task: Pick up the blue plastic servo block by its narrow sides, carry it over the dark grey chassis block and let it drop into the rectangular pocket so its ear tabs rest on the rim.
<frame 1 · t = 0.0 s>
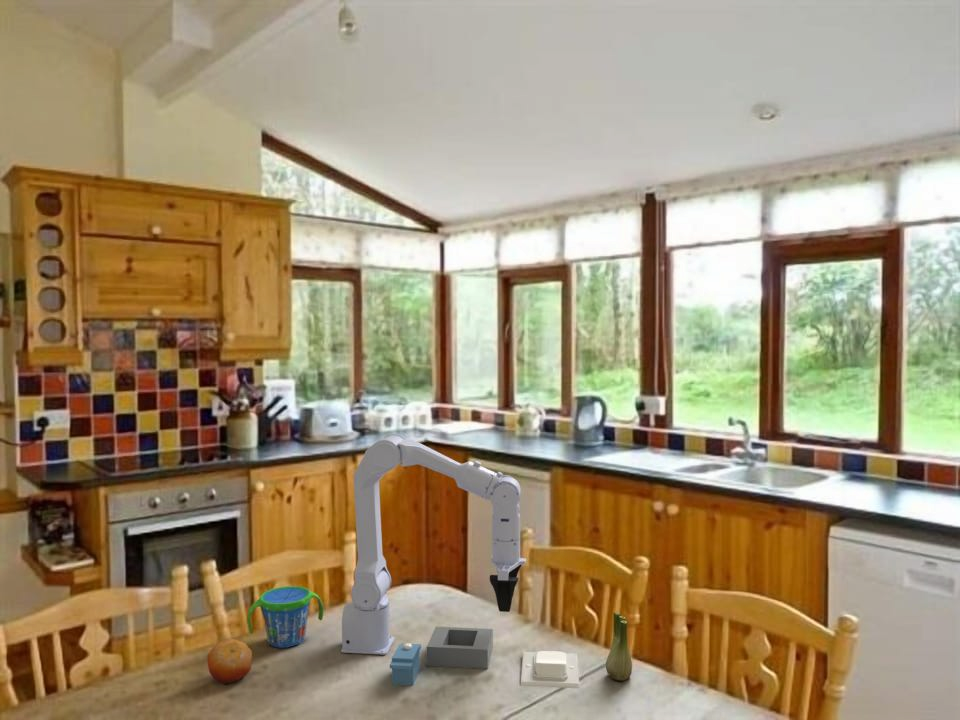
hand: (506, 604, 150), 10 cm above the table, tool pointing down, fingers open, 7 cm apart
light switch: (549, 675, 142), on the table
fruit: (229, 680, 140), on the table
chassis: (460, 656, 149), on the table
fennel bulb: (618, 678, 140), on the table
snack cup: (286, 642, 156), on the table
servo: (406, 677, 140), on the table
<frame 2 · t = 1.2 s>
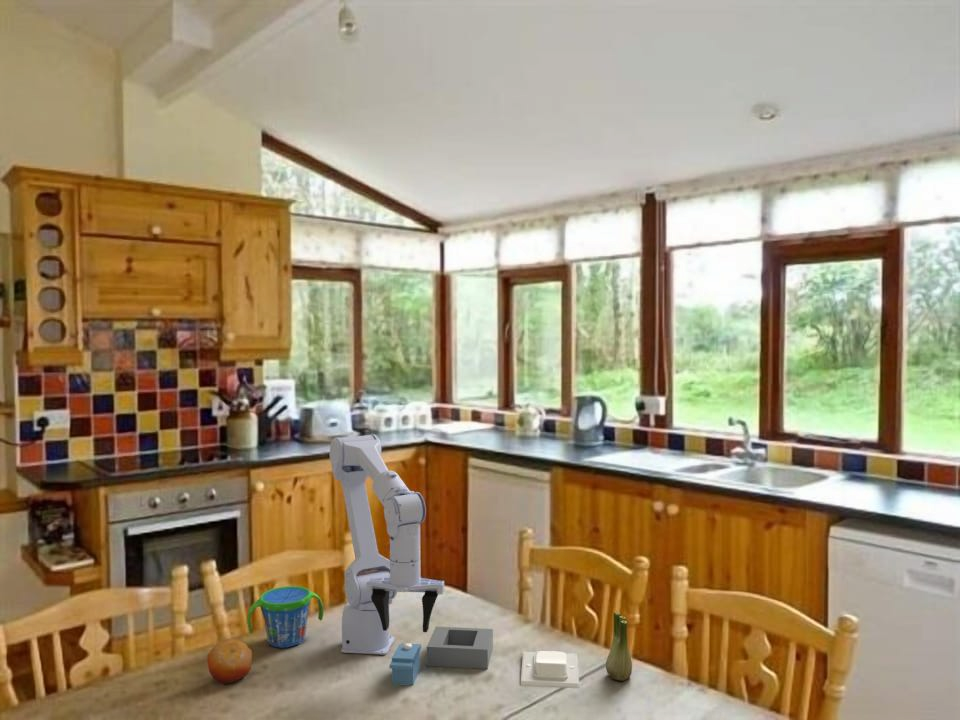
hand: (405, 629, 140), 9 cm above the table, tool pointing down, fingers open, 7 cm apart
nothing on the table moved.
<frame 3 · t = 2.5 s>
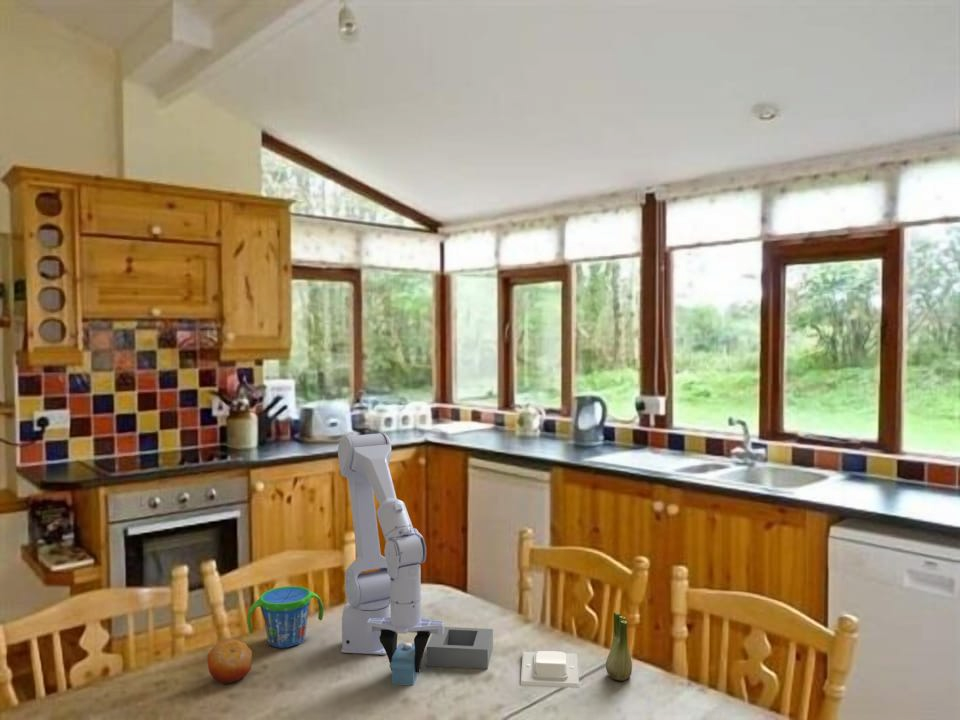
hand: (406, 669, 140), 1 cm above the table, tool pointing down, fingers closed on servo, 4 cm apart
servo: (406, 677, 140), on the table, touching gripper
everything else where it was.
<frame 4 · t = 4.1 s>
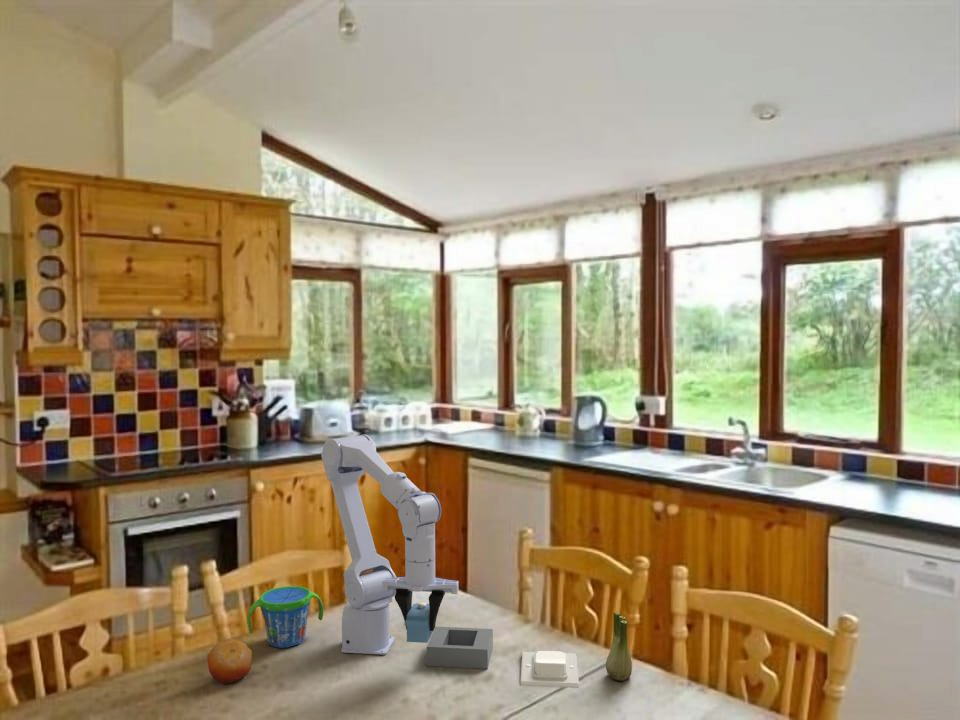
hand: (420, 628, 142), 8 cm above the table, tool pointing down, fingers closed on servo, 4 cm apart
servo: (420, 635, 142), point 7 cm above the table, touching gripper
everything else where it was.
when the fingers open (4 cm above the table, at t = 5.8 s): servo drops 3 cm, resting on chassis.
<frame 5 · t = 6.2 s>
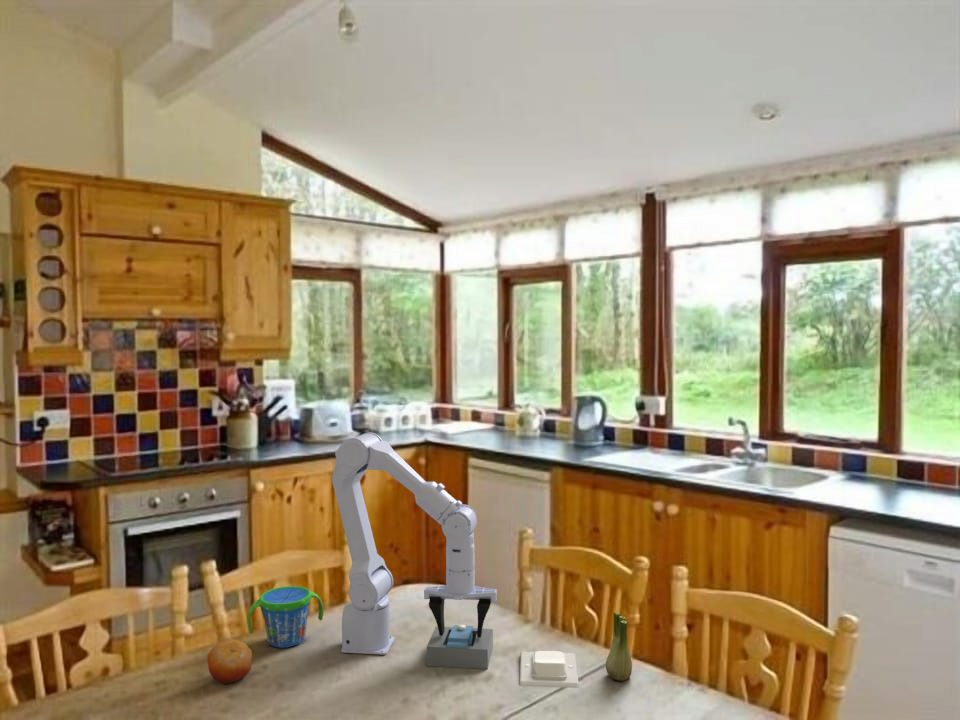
hand: (460, 634, 149), 4 cm above the table, tool pointing down, fingers open, 7 cm apart
servo: (460, 656, 149), resting on chassis
everything else where it was.
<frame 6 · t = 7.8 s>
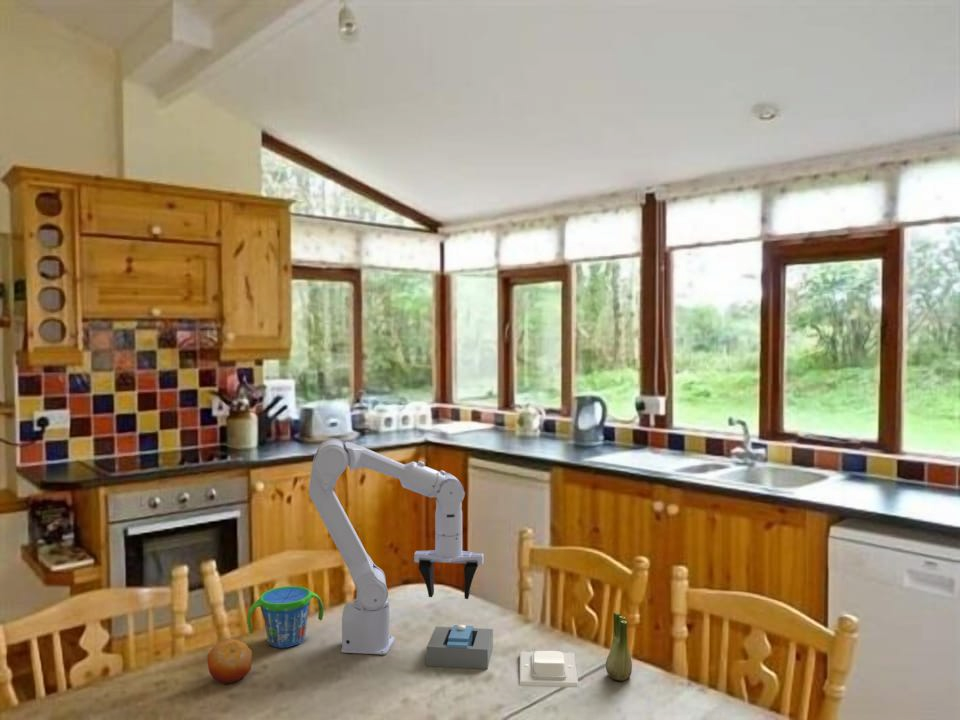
hand: (449, 596, 156), 9 cm above the table, tool pointing down, fingers open, 7 cm apart
nothing on the table moved.
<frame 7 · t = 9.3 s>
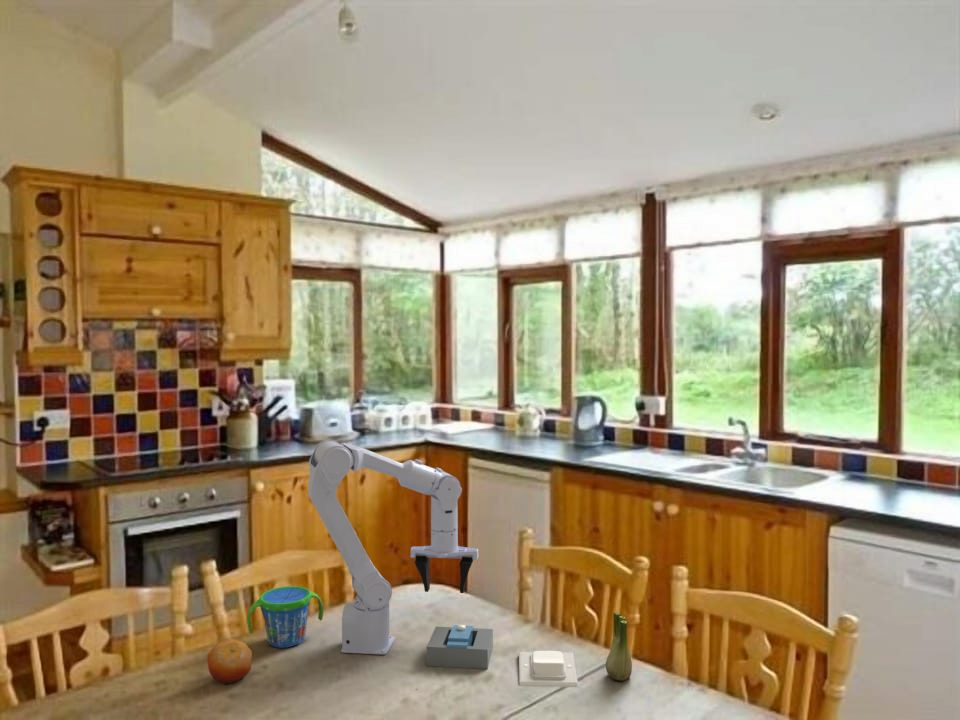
hand: (444, 591, 160), 9 cm above the table, tool pointing down, fingers open, 7 cm apart
nothing on the table moved.
at the end: servo 0.1 cm off-centre on the chassis, point 0.0 cm above the chassis's base; servo tilted 0°; the gripper is holding nothing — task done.
